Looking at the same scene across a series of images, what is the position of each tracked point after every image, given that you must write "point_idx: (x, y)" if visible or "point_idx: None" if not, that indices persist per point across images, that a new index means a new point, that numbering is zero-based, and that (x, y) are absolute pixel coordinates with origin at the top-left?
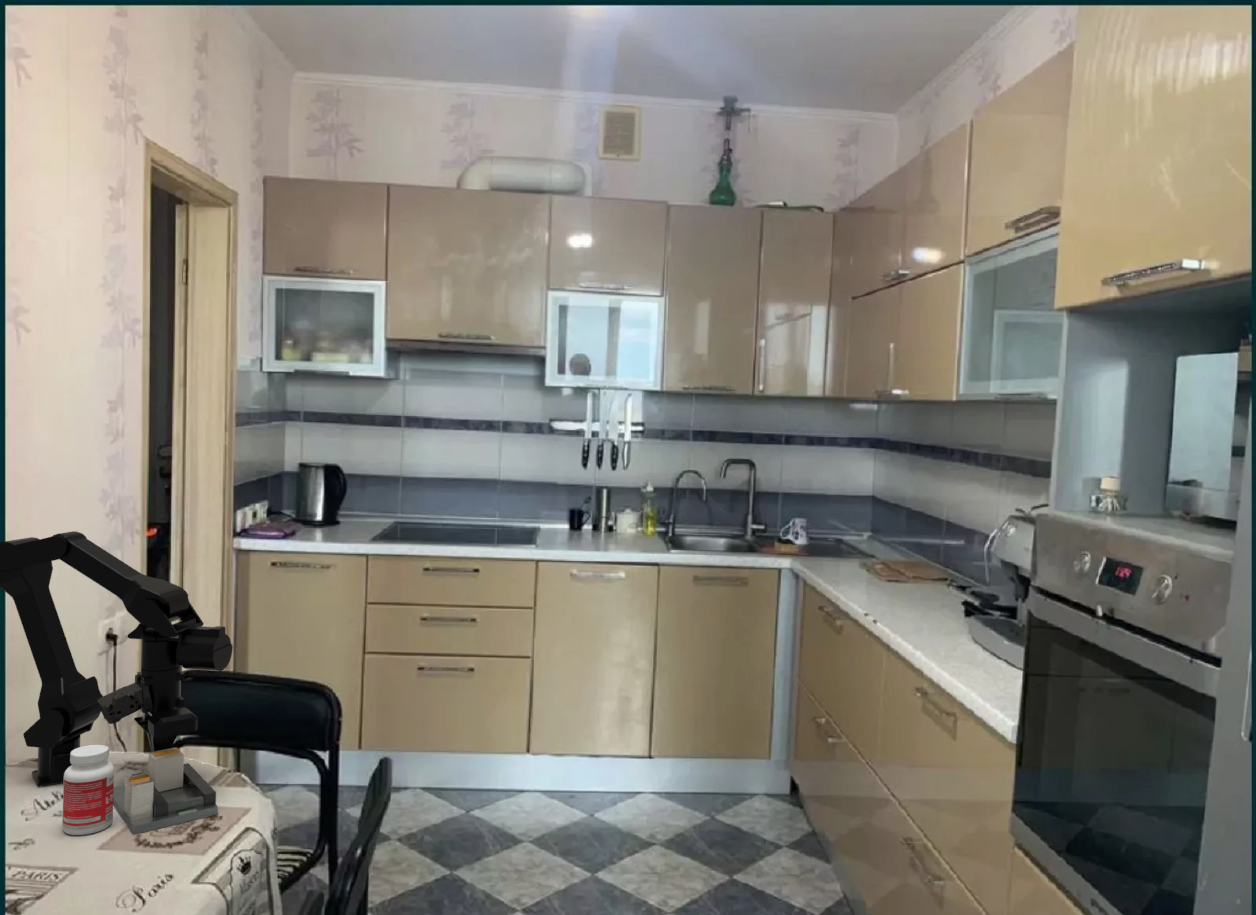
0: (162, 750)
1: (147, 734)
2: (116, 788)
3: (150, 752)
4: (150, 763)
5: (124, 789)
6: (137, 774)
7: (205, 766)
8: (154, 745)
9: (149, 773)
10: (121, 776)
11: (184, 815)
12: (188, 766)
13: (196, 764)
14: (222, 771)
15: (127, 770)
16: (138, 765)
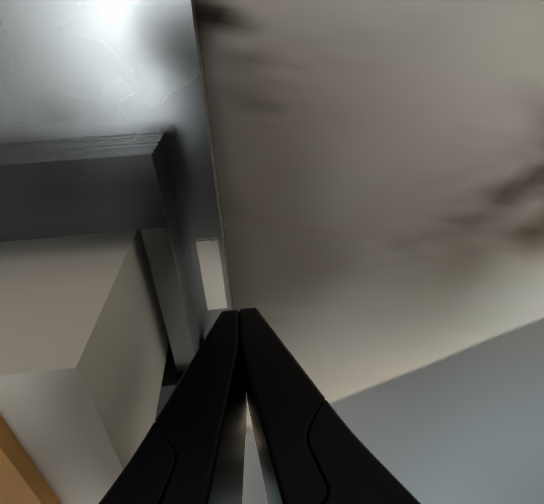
0: (100, 444)
1: (362, 470)
2: (157, 35)
3: (70, 378)
4: (31, 314)
5: (117, 83)
6: (134, 191)
7: (333, 399)
8: (147, 441)
9: (83, 261)
10: (461, 116)
11: None
12: (157, 414)
13: (373, 381)
14: (251, 431)
15: (518, 157)
16: (537, 210)
